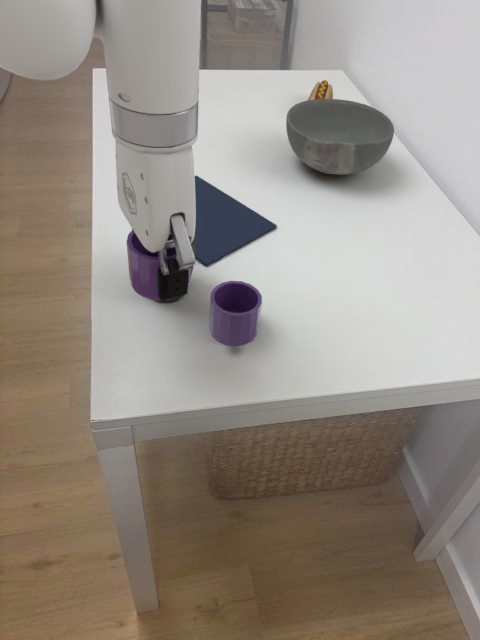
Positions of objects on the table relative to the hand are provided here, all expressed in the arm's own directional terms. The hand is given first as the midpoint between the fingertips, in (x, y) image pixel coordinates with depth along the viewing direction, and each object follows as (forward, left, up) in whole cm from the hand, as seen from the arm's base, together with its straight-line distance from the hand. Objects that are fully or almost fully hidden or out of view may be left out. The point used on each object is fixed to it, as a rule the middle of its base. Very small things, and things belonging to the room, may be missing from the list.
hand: (160, 274), depth 59 cm
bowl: (-16, +55, -13) cm, 59 cm away
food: (-34, +73, -13) cm, 82 cm away
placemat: (-19, +23, -12) cm, 32 cm away
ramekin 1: (0, 0, -1) cm, 1 cm away
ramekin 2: (+3, +9, -12) cm, 16 cm away
